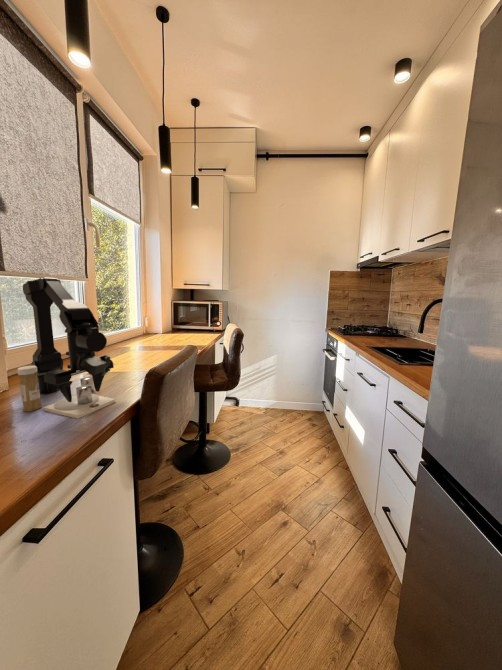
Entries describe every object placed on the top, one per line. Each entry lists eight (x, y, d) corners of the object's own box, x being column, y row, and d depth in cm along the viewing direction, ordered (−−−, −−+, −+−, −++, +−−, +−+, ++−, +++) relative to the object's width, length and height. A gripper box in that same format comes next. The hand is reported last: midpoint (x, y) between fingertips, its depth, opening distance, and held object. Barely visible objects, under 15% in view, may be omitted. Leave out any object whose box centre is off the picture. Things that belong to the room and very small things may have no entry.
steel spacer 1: (79, 392, 95) (77, 379, 95) (89, 388, 99) (88, 376, 98) (86, 394, 94) (85, 380, 93) (96, 390, 98) (95, 377, 97)
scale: (43, 410, 80) (43, 405, 80) (83, 395, 92) (83, 391, 92) (77, 418, 75) (77, 413, 75) (115, 401, 87) (115, 397, 87)
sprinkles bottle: (40, 409, 81) (35, 367, 79) (21, 413, 78) (15, 369, 76) (42, 404, 85) (37, 364, 83) (24, 407, 82) (18, 366, 80)
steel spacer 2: (74, 403, 82) (72, 388, 81) (86, 399, 85) (85, 384, 85) (83, 405, 80) (82, 390, 79) (95, 400, 84) (94, 386, 83)
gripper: (67, 356, 69) (72, 412, 71) (124, 344, 86) (127, 389, 88) (39, 353, 73) (46, 406, 75) (99, 342, 90) (103, 385, 92)
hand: (84, 396), depth 82 cm, fingers open, 9 cm apart
